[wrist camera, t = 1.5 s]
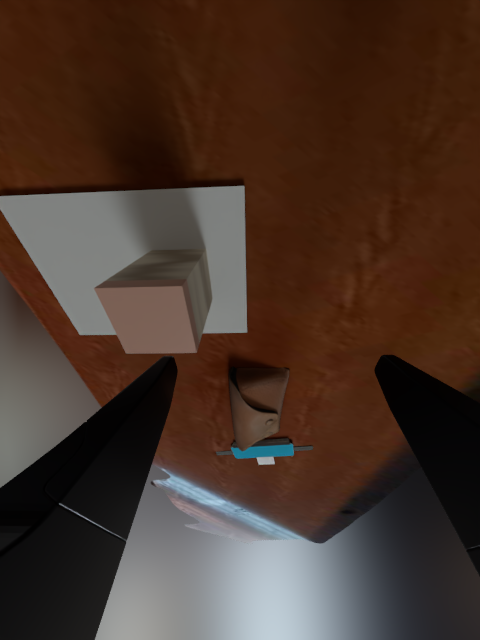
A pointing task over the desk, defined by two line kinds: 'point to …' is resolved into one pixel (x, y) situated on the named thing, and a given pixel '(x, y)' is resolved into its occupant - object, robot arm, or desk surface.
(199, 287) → the birch block
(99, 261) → the grey mat
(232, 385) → the sunglasses case
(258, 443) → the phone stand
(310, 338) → the desk surface
